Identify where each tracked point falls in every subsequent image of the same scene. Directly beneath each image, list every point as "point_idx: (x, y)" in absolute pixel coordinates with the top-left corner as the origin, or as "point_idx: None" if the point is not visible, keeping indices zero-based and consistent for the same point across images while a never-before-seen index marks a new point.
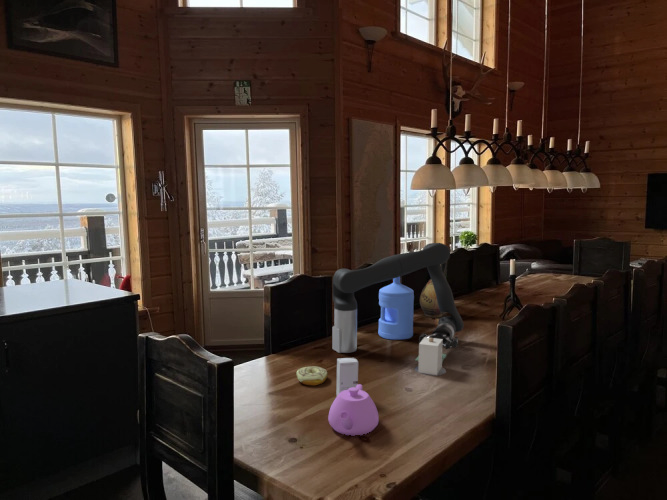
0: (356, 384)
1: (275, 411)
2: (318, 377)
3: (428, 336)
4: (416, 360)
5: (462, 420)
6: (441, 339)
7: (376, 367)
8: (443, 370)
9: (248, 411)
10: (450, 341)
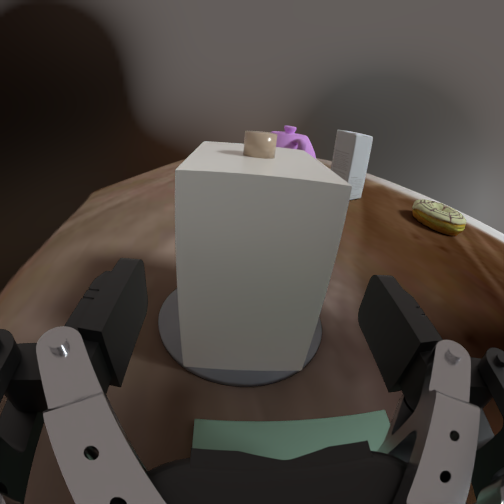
0: (331, 168)
1: (375, 183)
2: (415, 201)
3: (456, 401)
4: (375, 412)
5: (147, 179)
6: (187, 167)
7: (430, 290)
8: (171, 325)
9: (393, 184)
10: (59, 330)
